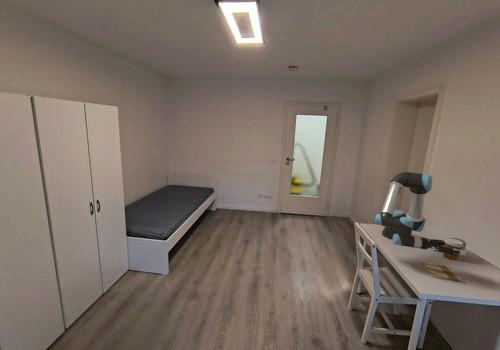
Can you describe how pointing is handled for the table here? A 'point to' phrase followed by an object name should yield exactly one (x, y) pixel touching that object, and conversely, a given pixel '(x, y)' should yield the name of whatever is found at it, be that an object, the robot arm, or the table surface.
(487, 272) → the table surface
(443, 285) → the table surface
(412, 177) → the robot arm
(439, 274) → the subfloor panel
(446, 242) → the disposable coffee cup
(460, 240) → the pillar candle
